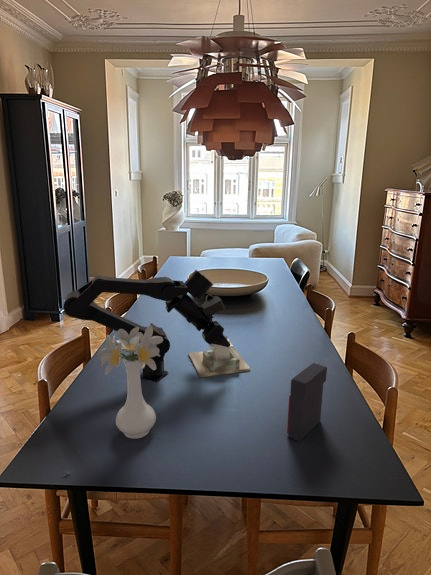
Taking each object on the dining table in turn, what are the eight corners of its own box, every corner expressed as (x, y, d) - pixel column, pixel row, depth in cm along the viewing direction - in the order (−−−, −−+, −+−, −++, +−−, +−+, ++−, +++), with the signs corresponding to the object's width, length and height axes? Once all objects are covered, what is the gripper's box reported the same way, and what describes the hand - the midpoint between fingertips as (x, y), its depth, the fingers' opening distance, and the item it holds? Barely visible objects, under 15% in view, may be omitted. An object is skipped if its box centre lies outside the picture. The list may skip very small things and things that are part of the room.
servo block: (212, 368, 128) (212, 340, 125) (208, 363, 131) (208, 335, 129) (233, 365, 130) (233, 338, 127) (229, 360, 133) (229, 333, 131)
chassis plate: (199, 377, 124) (199, 365, 123) (188, 355, 139) (188, 344, 138) (250, 370, 128) (250, 358, 127) (233, 350, 143) (234, 339, 142)
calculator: (306, 415, 105) (310, 361, 101) (322, 421, 102) (327, 366, 98) (284, 436, 97) (288, 377, 93) (301, 443, 94) (305, 384, 90)
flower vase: (169, 409, 107) (167, 318, 101) (154, 456, 90) (150, 349, 83) (120, 407, 108) (114, 316, 101) (95, 453, 90) (86, 347, 84)
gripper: (217, 298, 114) (253, 332, 120) (200, 281, 131) (233, 311, 137) (189, 328, 114) (227, 360, 120) (176, 307, 131) (210, 336, 137)
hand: (224, 340), depth 129 cm, fingers open, 9 cm apart
